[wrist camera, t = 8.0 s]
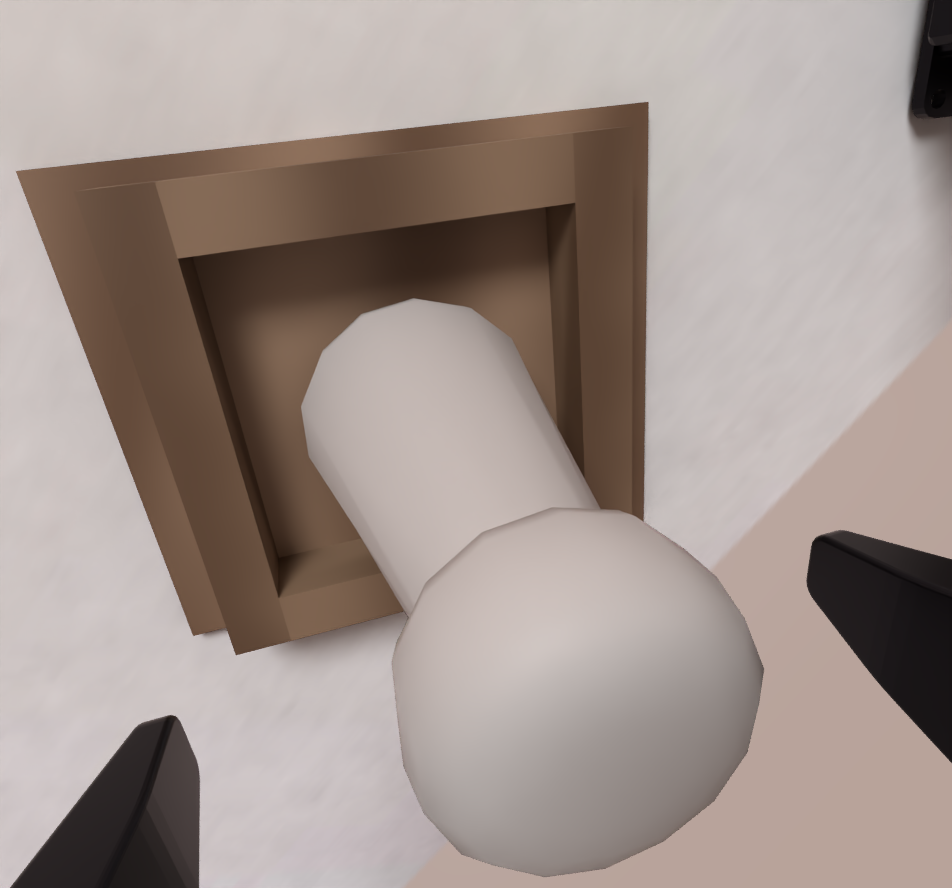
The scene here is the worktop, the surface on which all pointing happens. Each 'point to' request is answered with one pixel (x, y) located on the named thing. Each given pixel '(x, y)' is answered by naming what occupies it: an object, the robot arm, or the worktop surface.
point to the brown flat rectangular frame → (340, 325)
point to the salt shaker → (524, 605)
